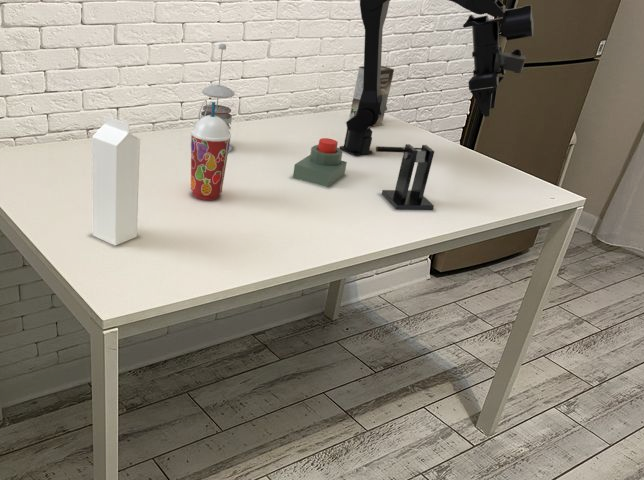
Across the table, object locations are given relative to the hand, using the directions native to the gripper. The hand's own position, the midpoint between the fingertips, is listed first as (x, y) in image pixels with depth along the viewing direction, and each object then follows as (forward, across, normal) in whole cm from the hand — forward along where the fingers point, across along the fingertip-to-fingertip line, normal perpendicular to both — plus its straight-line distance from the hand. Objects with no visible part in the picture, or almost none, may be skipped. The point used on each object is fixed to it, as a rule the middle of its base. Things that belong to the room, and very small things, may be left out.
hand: (489, 112), depth 179 cm
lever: (+3, -26, +14) cm, 29 cm away
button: (0, -23, +34) cm, 41 cm away
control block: (+5, -26, +36) cm, 45 cm away
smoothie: (0, -54, +52) cm, 75 cm away
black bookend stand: (+12, -28, +15) cm, 34 cm away
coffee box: (+4, +28, +39) cm, 48 cm away
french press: (-4, -23, +64) cm, 69 cm away
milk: (-2, -83, +57) cm, 101 cm away
